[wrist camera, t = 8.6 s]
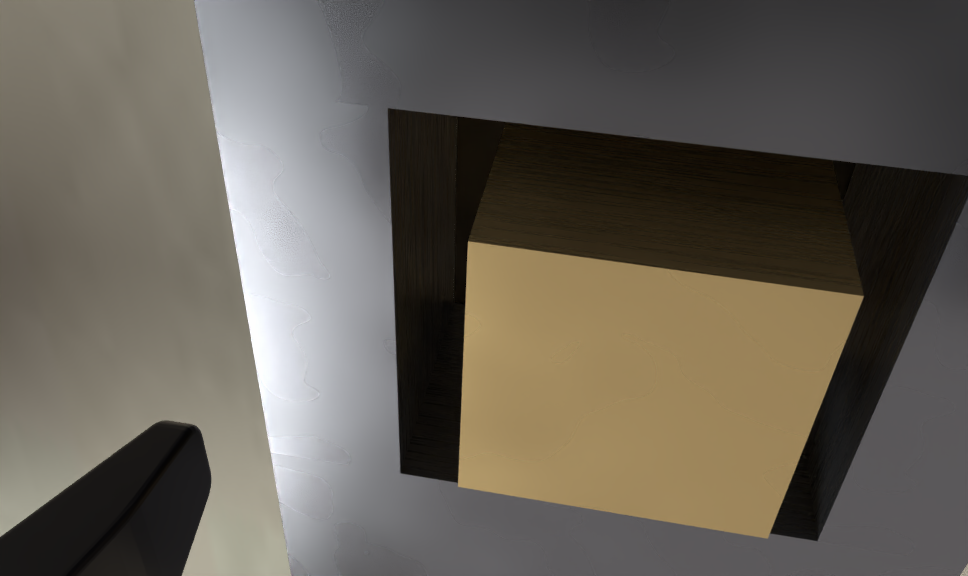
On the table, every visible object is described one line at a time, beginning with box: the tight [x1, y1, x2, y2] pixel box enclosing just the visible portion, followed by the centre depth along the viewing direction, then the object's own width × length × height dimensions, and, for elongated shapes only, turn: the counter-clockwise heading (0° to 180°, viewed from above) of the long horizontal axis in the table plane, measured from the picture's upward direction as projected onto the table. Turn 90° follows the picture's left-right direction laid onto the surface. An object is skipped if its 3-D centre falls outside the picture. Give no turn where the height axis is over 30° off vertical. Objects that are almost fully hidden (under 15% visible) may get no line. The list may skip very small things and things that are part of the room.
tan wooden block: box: [458, 122, 864, 539], centre depth 13 cm, size 4×4×5 cm
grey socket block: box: [194, 0, 968, 576], centre depth 13 cm, size 10×16×4 cm, turn 179°
